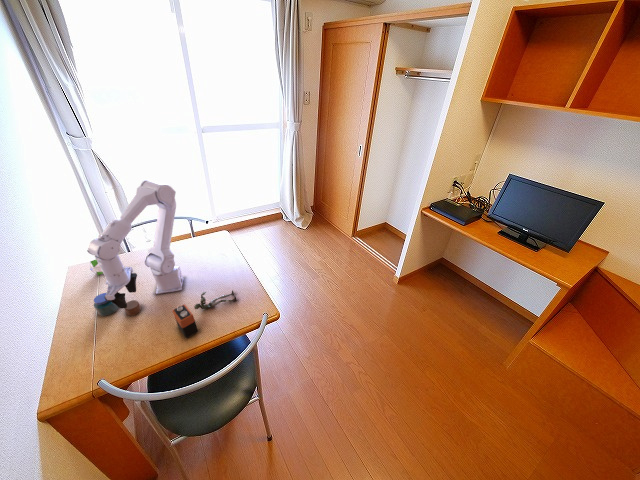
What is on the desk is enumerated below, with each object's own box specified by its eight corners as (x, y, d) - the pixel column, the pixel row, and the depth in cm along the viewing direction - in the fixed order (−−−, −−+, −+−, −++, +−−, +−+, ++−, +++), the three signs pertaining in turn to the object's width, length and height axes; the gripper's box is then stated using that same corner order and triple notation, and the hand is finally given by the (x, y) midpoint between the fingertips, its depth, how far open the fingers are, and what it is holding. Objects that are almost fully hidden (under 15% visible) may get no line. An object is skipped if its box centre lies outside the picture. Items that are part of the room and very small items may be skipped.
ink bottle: (121, 301, 102) (115, 290, 99) (115, 314, 97) (109, 302, 94) (101, 304, 101) (94, 293, 97) (95, 317, 95) (87, 305, 92)
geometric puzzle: (87, 266, 115) (84, 259, 109) (106, 259, 119) (104, 252, 113) (96, 279, 114) (93, 273, 108) (114, 272, 118) (112, 266, 112)
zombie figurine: (234, 289, 101) (193, 304, 95) (237, 301, 105) (197, 316, 99) (230, 280, 105) (190, 294, 98) (232, 292, 109) (194, 306, 102)
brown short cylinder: (142, 304, 101) (139, 299, 100) (139, 314, 98) (136, 308, 96) (128, 307, 100) (125, 301, 98) (125, 316, 97) (122, 310, 95)
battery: (186, 339, 90) (179, 320, 85) (178, 327, 94) (170, 308, 88) (198, 331, 93) (192, 312, 87) (190, 320, 97) (183, 301, 91)
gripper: (111, 257, 93) (125, 286, 101) (88, 286, 82) (105, 316, 89) (133, 257, 94) (145, 284, 102) (113, 285, 83) (128, 314, 90)
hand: (128, 299), depth 96 cm, fingers open, 7 cm apart
